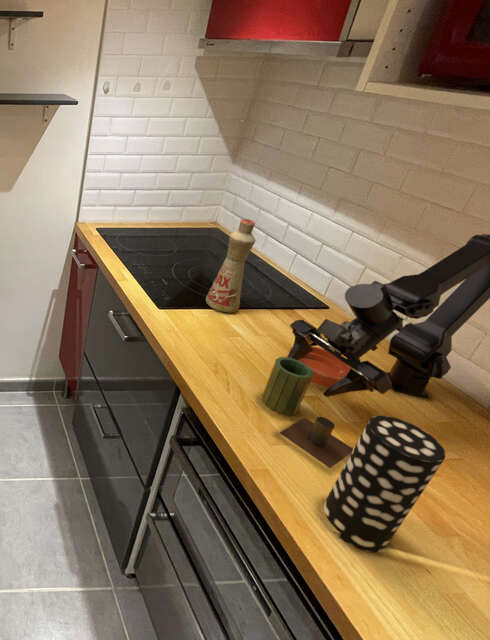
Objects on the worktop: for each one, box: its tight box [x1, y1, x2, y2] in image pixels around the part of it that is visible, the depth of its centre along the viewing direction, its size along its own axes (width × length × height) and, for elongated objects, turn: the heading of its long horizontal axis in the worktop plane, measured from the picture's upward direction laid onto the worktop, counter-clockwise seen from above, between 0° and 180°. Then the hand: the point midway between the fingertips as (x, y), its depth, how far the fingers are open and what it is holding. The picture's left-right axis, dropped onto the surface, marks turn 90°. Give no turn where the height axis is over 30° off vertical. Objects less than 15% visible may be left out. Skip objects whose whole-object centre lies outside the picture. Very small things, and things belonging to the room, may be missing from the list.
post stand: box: [279, 416, 354, 469], centre depth 86 cm, size 9×9×6 cm
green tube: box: [260, 356, 313, 416], centre depth 94 cm, size 6×6×11 cm
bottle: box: [205, 218, 256, 314], centre depth 127 cm, size 9×9×28 cm
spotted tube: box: [323, 415, 447, 553], centre depth 69 cm, size 8×8×20 cm
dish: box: [286, 346, 351, 388], centre depth 106 cm, size 12×12×4 cm
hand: (304, 379), depth 94 cm, fingers open, 9 cm apart
